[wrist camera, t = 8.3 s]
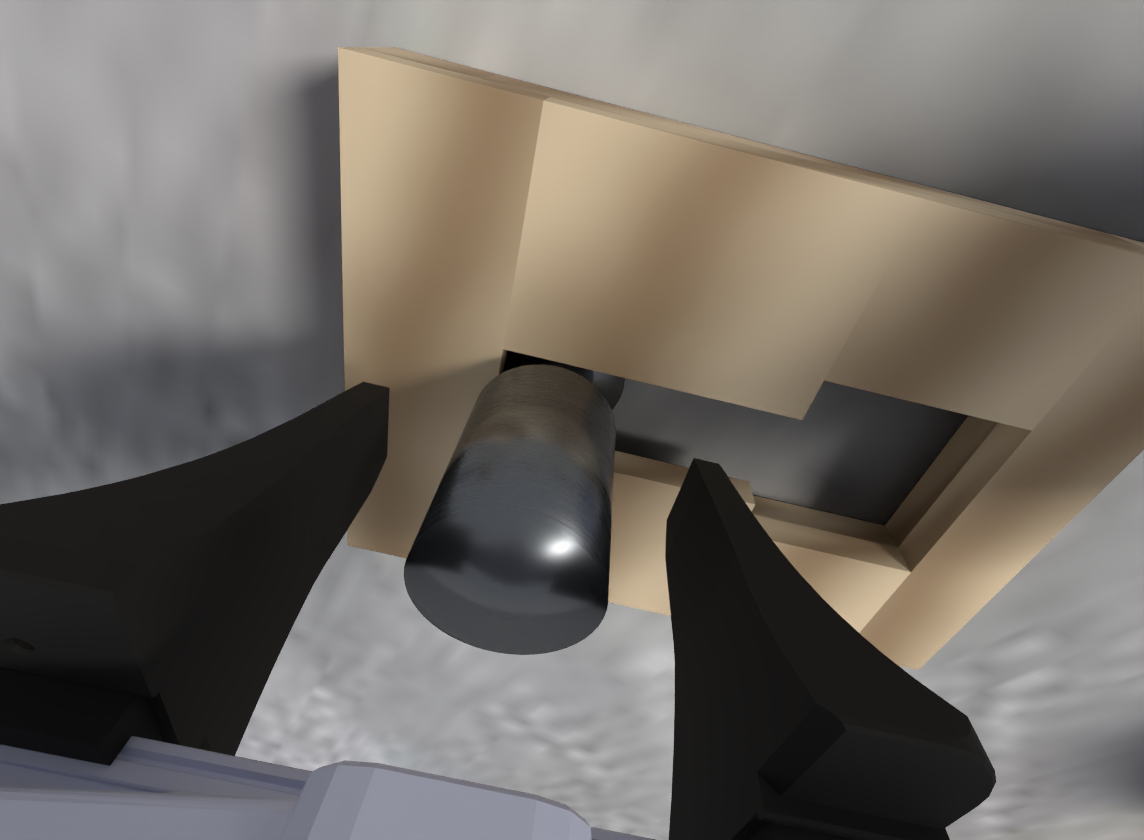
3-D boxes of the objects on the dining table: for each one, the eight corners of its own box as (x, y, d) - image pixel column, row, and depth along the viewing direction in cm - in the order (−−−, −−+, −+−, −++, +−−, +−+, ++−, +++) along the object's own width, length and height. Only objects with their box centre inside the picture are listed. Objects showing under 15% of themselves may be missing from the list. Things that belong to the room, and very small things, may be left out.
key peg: (637, 307, 16) (642, 532, 9) (612, 420, 18) (598, 675, 11) (501, 283, 16) (388, 488, 9) (492, 399, 18) (396, 640, 11)
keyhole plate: (1181, 252, 14) (1300, 296, 11) (886, 598, 22) (918, 669, 19) (393, 47, 13) (338, 47, 11) (381, 486, 21) (347, 545, 18)
